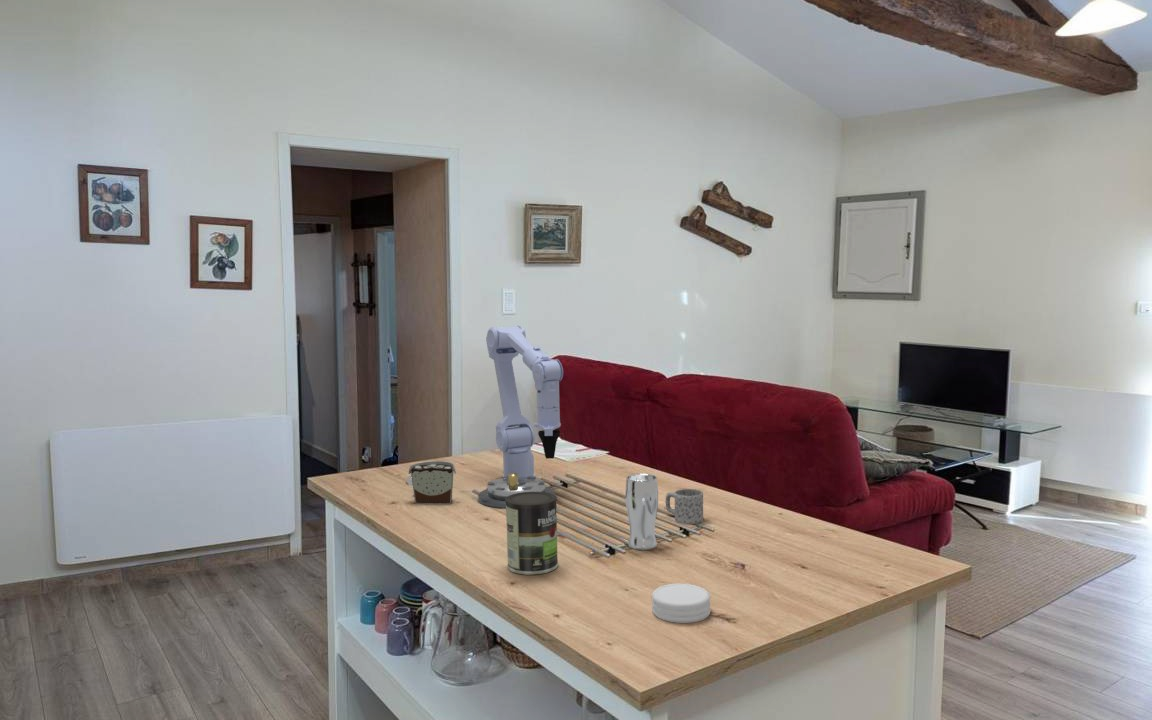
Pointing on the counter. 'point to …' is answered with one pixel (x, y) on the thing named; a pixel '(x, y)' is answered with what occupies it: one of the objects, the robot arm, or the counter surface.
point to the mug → (686, 506)
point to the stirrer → (409, 481)
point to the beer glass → (642, 510)
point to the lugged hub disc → (514, 486)
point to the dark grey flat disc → (497, 503)
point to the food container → (432, 482)
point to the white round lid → (681, 603)
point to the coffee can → (531, 532)
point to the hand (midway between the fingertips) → (549, 458)
